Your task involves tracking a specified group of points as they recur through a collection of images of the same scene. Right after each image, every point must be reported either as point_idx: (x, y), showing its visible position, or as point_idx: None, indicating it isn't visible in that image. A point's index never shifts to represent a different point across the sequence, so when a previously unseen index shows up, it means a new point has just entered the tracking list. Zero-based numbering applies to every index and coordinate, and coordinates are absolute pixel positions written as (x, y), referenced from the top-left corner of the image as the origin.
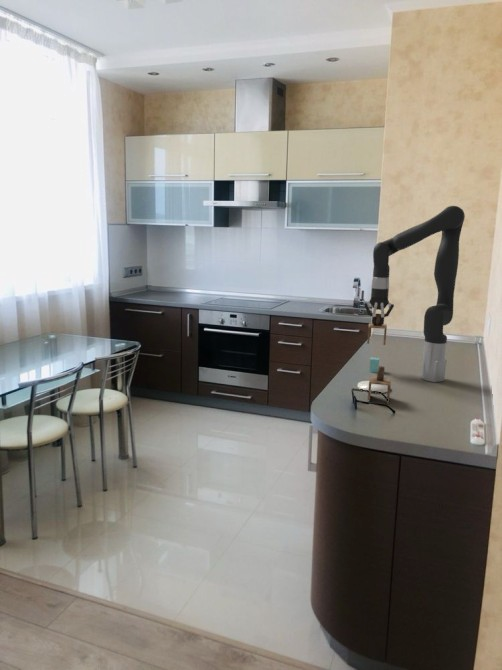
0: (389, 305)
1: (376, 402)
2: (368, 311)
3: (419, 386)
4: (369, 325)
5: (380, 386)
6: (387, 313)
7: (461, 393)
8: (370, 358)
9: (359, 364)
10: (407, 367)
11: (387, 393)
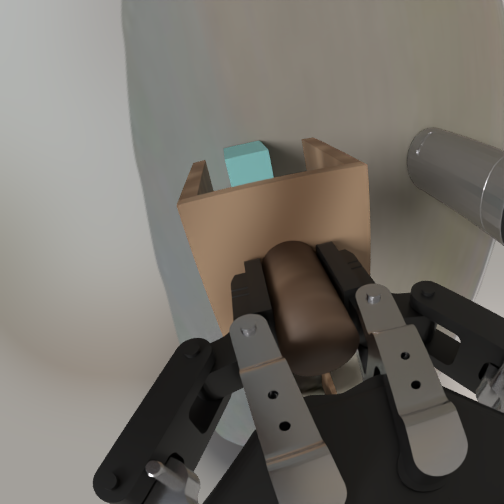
0: (495, 408)
1: (303, 386)
2: (200, 422)
3: (397, 250)
4: (223, 311)
5: None
6: (428, 352)
7: (467, 249)
8: (231, 184)
9: (161, 89)
10: (355, 37)
11: (326, 393)
